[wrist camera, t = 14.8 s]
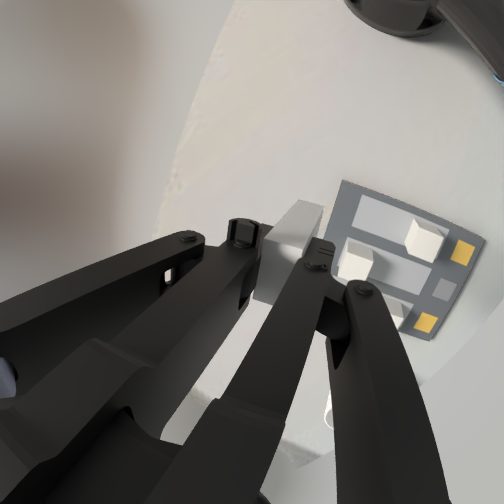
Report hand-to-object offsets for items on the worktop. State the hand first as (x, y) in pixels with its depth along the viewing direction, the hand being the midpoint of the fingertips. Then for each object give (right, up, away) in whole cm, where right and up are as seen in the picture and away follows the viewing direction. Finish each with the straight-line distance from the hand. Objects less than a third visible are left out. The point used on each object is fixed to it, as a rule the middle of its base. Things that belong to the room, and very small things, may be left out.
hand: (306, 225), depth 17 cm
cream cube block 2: (+11, -2, +22) cm, 24 cm away
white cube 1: (+19, +1, +18) cm, 26 cm away
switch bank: (+17, -4, +22) cm, 28 cm away
